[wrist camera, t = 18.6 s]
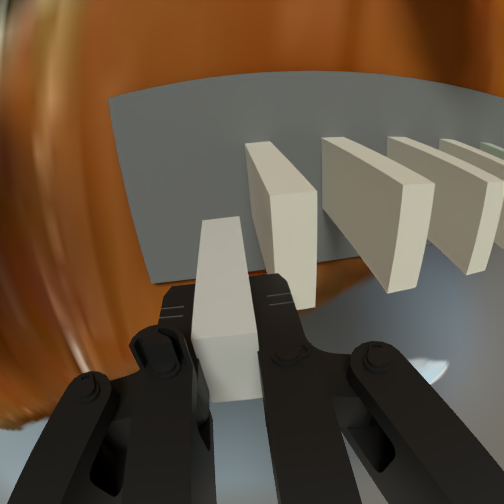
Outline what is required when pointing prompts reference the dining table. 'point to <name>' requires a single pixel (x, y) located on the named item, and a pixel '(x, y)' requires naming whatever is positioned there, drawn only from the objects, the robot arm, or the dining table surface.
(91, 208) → the dining table surface
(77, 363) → the dining table surface
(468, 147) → the domino
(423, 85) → the slate mat
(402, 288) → the domino
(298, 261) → the domino
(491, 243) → the domino
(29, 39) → the dining table surface
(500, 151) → the domino
